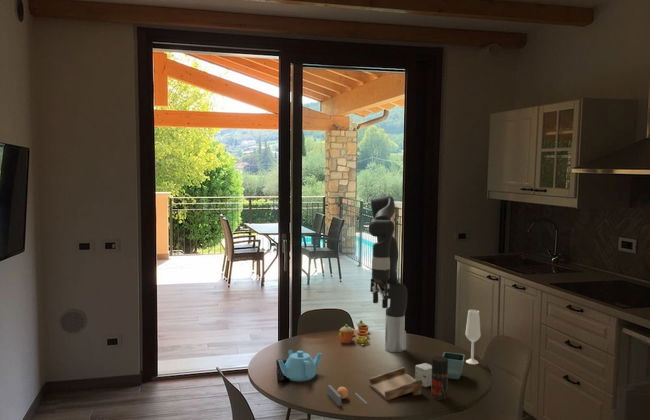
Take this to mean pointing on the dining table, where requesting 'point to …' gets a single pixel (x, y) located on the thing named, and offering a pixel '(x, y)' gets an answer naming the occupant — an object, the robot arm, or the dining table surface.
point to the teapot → (300, 366)
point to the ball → (343, 392)
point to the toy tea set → (348, 332)
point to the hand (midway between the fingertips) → (380, 305)
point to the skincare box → (424, 373)
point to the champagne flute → (473, 332)
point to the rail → (334, 395)
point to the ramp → (395, 384)
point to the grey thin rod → (361, 398)
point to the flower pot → (454, 364)
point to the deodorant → (439, 377)
